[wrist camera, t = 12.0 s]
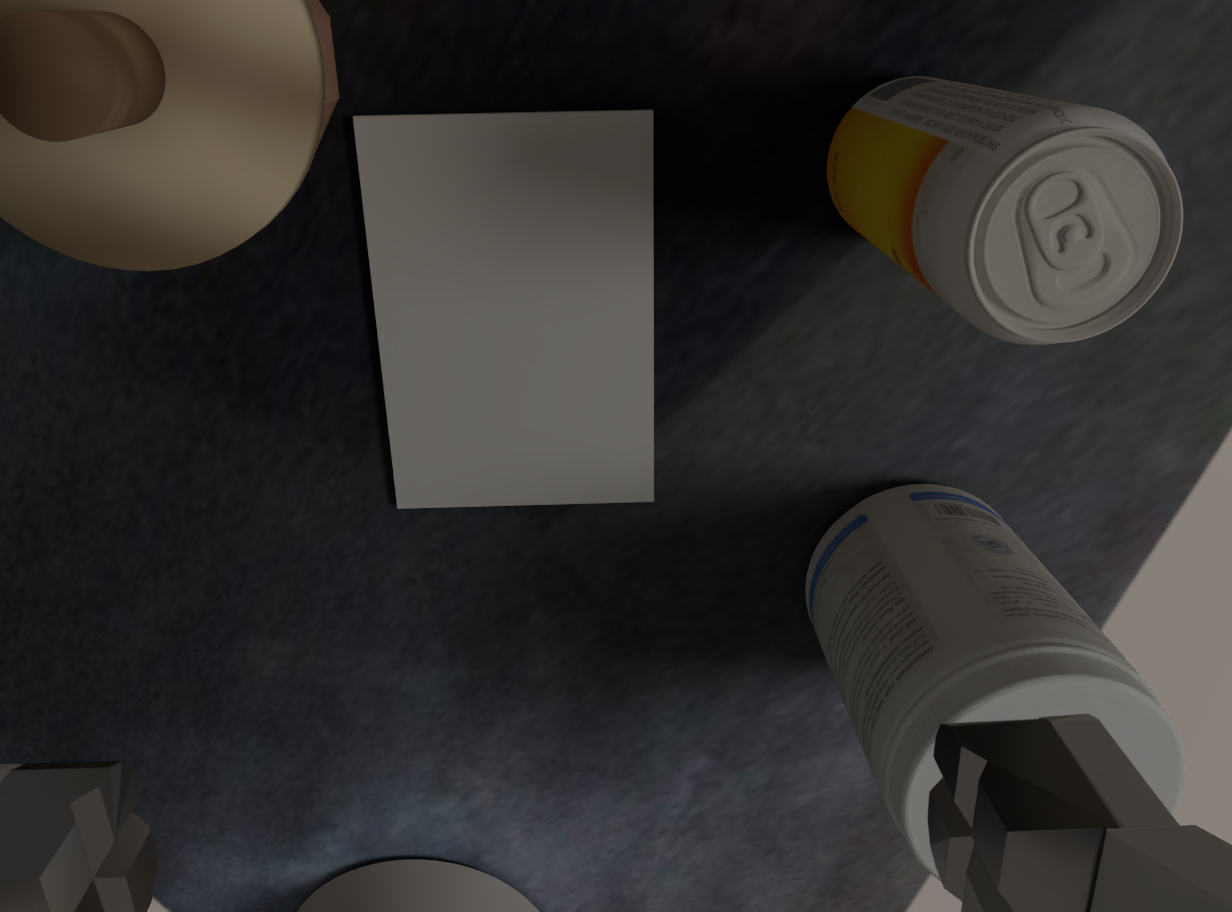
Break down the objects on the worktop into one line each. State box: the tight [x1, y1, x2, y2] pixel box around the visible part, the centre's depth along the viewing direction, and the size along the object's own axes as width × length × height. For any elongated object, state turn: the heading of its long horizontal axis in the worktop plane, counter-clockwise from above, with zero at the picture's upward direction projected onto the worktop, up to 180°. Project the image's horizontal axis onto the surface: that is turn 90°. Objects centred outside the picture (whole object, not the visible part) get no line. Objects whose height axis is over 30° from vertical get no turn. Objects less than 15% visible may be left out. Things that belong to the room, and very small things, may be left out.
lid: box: [0, 0, 325, 271], centre depth 29 cm, size 12×12×5 cm
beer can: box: [827, 76, 1183, 345], centre depth 32 cm, size 6×6×15 cm
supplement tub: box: [805, 484, 1185, 881], centre depth 39 cm, size 10×10×15 cm
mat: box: [353, 110, 654, 509], centre depth 41 cm, size 16×11×1 cm
